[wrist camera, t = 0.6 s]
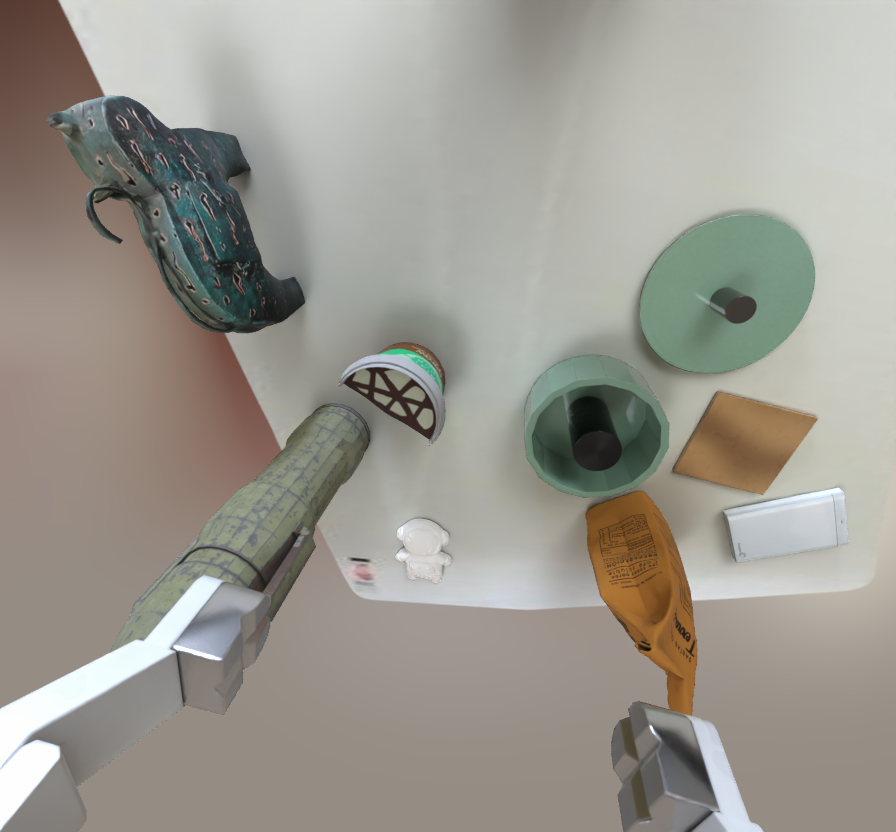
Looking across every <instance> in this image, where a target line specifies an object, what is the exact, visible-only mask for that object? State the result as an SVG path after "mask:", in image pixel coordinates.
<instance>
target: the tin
mask: <svg viewBox="0 0 896 832" xmlns="http://www.w3.org/2000/svg"><path fill="white" fill-rule="evenodd" d="M567 422H568V428H569V433H570V439H571V445H572V450H573V456H574V459H575V461H576V462H577V463H578V464H579V465H580V466H581V467H583V468H584V469H587V470H590V471H602V470H606V469H609V468H611V467H612V466H614V465H615V464H616V463H617V462H618V461H619V459H620V457H621V454H622V446H621V443H620V440H619V437H618V435H617V432H616V429H615V427H614V424H613V421H612V418H611V416H610V413H609V410H608V408H607V406H606V404H605V403H604V402H603V401H602V400H600V399H599V398H596V397H591V396H586V397H581V398H579V399H577V400H575V401H574V402H573V403H572V404H571V405H570V406H569V408H568V410H567Z"/></svg>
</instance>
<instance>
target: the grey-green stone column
mask: <svg viewBox="0 0 896 832" xmlns="http://www.w3.org/2000/svg"><path fill="white" fill-rule="evenodd" d="M369 442H370V431H369V429H368V426H367V424H366V422H365V421H364V419H363V418H362V417H361V415H359V414H358V413H357V412H356V411H354V410H353V409H351V408H349V407H347V406H344V405H340V404H328V405H323V406H322V407H320V408H318V409H317V410H315V412H314V413H313V414H312V415H311V416H309V417H307V418H306V419H305V420H304V421H303V422H302V423H301V424H300V425H299V426H298V427H297V428H296V429H295V430H294V432H293V433H292V434H291V435H290V437H289V438H288V439H287V442H286V447H285V448H284V449H283V450H282V451H281V452H280V453H279V454H278V455H277V456H276V457H275V459H274V460H273V461H272V462H271V463H270V464H269V465H268V466H267V467H266V468H265V469H264V470H263V471H262V472H261V474H260V475H259V476H258V477H257V478H256V479H255V480H254V481H253V482H252V483H250V484H247V485H246V486H244V487H242V488H240V489H239V490H238V491H237V492H236V493H235V494H234V495H233V496H232V497H231V498H230V499H229V500H228V501H227V502H226V503H225V504H224V506H222V507H221V509H220V510H219V511H218V512H217V513H216V514H215V515H214V516H213V517H212V518H211V519H210V520H209V521H208V522H207V523H206V525H205V526H204V527H203V529H202V530H201V532H200V534H199V536H198V538H197V539H196V540H194V541H193V542H192V543H191V544H190V545H189V546H188V547H187V548H186V549H185V550H184V551H183V553H182V554H181V555H180V556H179V557H178V558H177V559H176V560H175V561H174V562H173V563H172V564H171V565H170V566H169V567H168V568H167V570H166V571H165V572H164V573H163V574H162V575H161V576H160V577H159V578H158V579H157V580H156V581H155V582H154V583H153V584H152V585H151V586H150V588H148V589H147V591H146V592H145V593H144V594H143V595H142V596H141V597H140V598H139V599H138V600H137V601H136V602H135V603H134V605H133V608H132V612H131V615H130V616H129V618H128V619H127V620H126V622H125V623H124V625H123V627H122V629H121V630H120V632H119V634H118V636H117V638H116V640H115V642H114V644H113V646H112V648H111V650H110V652H109V653H111V652H113V651H115V650H117V649H119V648H120V647H122V646H124V645H126V644H128V643H130V642H132V641H134V640H136V639H137V640H141V641H144V640H145V639H146V638H147V636H148V635H149V634H150V633H151V632H152V631H153V629H154V628H155V627H156V626H157V625H158V624H159V622H160V621H161V620H162V619H163V618H164V617H165V616H166V614H167V613H168V612H169V611H170V610H171V609H172V607H173V606H174V605H175V604H176V603H177V602H178V600H179V599H180V598H181V597H182V596H183V595H184V594H185V592H186V591H187V590H188V589H189V588H190V587H191V585H192V584H193V583H194V582H195V581H196V580H197V579H199V578H200V577H202V576H203V575H206V576H210V577H213V578H217V579H220V580H224V581H227V582H229V583H232V584H236V585H239V586H242V587H246V588H249V589H252V590H256V591H259V592H262V593H266V594H269V595H271V606H270V607H269V609H268V611H267V612H266V613H267V614H268V615H269V617H270V618H271V619H270V622H271V621H272V620H273V618H274V617H275V615H276V613H277V611H278V610H279V608H280V607H281V605H282V603H283V601H284V600H285V598H286V596H287V594H288V593H289V591H290V590H291V588H292V586H293V584H294V583H295V581H296V579H297V578H298V576H299V574H300V572H301V571H302V569H303V567H304V566H305V564H306V562H307V561H308V559H309V557H310V556H311V554H312V552H313V551H314V549H315V548H316V546H315V543H314V540H313V534H314V531H315V525H316V523H317V522H318V520H319V519H320V517H321V515H322V514H323V512H324V511H325V509H326V507H327V506H328V504H329V503H330V501H331V499H332V498H333V496H334V495H335V493H336V492H337V490H338V488H339V487H340V485H342V484H344V483H346V482H347V480H348V479H349V478H350V477H351V476H352V474H353V473H354V471H355V470H356V468H357V466H358V465H359V463H360V461H361V460H362V457H363V455H364V452H365V451H366V449H367V447H368V445H369ZM183 706H185V705H184V704H183Z"/></svg>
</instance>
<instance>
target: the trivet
mask: <svg viewBox="0 0 896 832" xmlns="http://www.w3.org/2000/svg"><path fill="white" fill-rule="evenodd" d="M817 419H818V418H817V417H815V416H812V415H808V414H804V413H800V412H796V411H792V410H788V409H785V408H781V407H777V406H773V405H769V404H765V403H761V402H757V401H753V400H749V399H745V398H741V397H737V396H733V395H729V394H725V393H721V392H716V394H715V396H714V398H713V399H712V401H711V403H710V405H709V406H708V408H707V410H706V412H705V413H704V415H703V417H702V419H701V420H700V422H699V424H698V426H697V427H696V429H695V431H694V433H693V435H692V436H691V438H690V440H689V442H688V443H687V445H686V447H685V449H684V450H683V452H682V454H681V456H680V457H679V459H678V461H677V463H676V465H675V466H674V468H673V470H674V472H677V473H681V474H685V475H689V476H692V477H696V478H700V479H704V480H708V481H711V482H715V483H719V484H723V485H727V486H730V487H734V488H738V489H742V490H746V491H749V492H753V493H757V494H761V495H763V494H764V493H765V492H766V490H767V489H768V487H769V486H770V485H771V483H772V482H773V480H774V479H775V478H776V476H777V475H778V474H779V472H780V471H781V469H782V468H783V467H784V465H785V464H786V462H787V461H788V460H789V458H790V457H791V455H792V454H793V453H794V451H795V450H796V448H797V447H798V446H799V444H800V443H801V441H802V440H803V439H804V437H805V436H806V435H807V433H808V432H809V430H810V429H811V428H812V426H813V425H814V423H815V422H816V421H817Z"/></svg>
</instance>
